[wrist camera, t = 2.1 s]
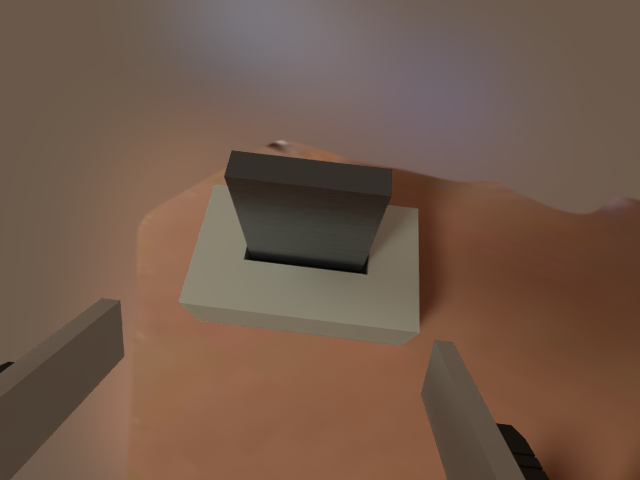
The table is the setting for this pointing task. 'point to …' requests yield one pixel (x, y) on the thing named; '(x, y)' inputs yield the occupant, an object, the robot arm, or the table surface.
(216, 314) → the slotted box
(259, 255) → the cover plate
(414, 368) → the table surface
